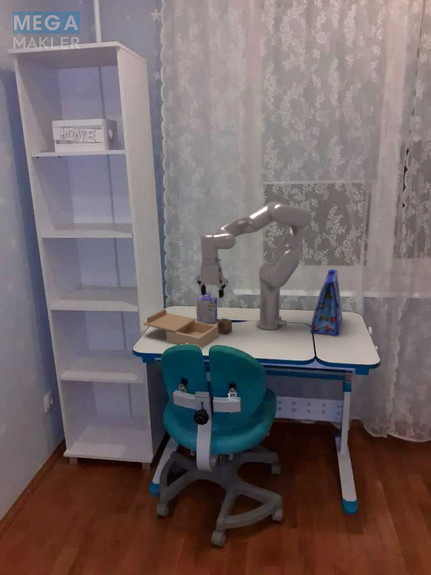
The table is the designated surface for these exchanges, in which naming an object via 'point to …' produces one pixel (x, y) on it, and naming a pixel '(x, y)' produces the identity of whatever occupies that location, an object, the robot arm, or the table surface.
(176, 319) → the lid
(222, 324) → the walnut block
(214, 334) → the mailer box
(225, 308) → the table surface
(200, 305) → the ink cartridge box
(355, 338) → the table surface
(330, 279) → the lunch bag
